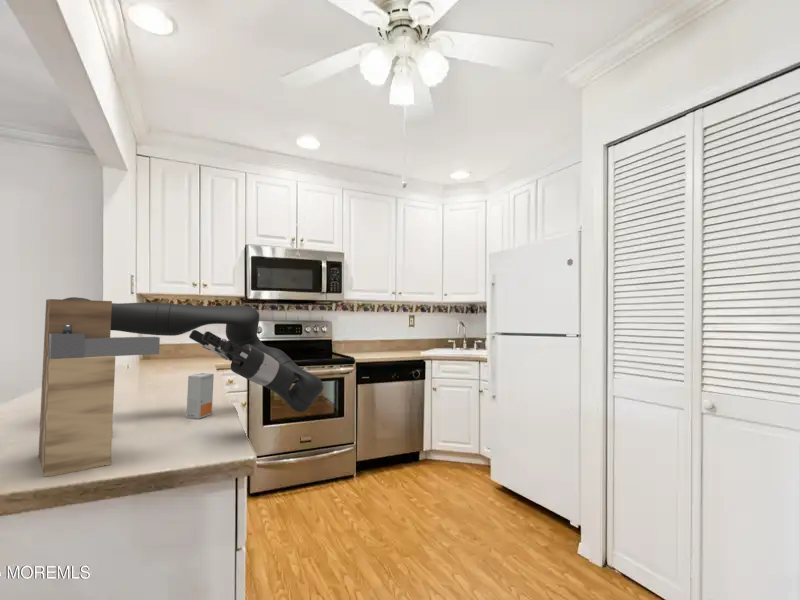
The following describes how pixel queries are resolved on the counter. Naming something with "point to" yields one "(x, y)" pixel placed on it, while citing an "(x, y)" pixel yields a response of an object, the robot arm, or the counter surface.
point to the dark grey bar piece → (98, 345)
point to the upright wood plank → (76, 392)
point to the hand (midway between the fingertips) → (197, 334)
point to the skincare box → (200, 395)
